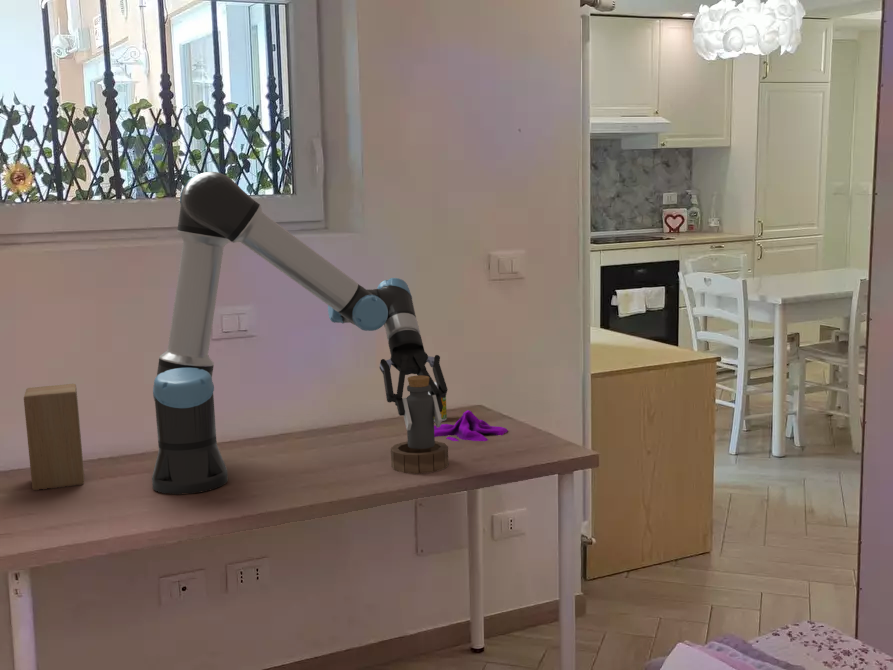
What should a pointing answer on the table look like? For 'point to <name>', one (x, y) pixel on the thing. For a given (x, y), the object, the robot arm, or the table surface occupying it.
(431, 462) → the bead ring
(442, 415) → the supplement bottle
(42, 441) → the wooden block
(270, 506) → the table surface
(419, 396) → the bottle
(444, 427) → the cloth
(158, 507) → the table surface
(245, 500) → the table surface
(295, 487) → the table surface
